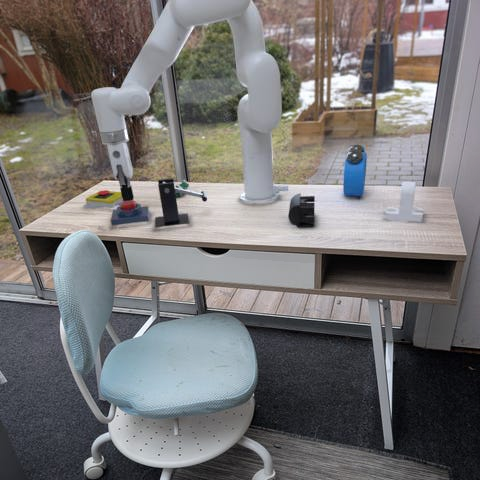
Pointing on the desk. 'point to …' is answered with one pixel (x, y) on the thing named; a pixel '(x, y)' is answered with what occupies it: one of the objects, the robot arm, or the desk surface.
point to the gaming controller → (182, 187)
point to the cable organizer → (405, 206)
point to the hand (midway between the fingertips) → (128, 199)
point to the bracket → (169, 205)
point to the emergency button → (104, 199)
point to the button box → (130, 215)
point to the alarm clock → (355, 171)
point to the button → (128, 205)
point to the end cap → (302, 211)
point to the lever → (191, 193)
